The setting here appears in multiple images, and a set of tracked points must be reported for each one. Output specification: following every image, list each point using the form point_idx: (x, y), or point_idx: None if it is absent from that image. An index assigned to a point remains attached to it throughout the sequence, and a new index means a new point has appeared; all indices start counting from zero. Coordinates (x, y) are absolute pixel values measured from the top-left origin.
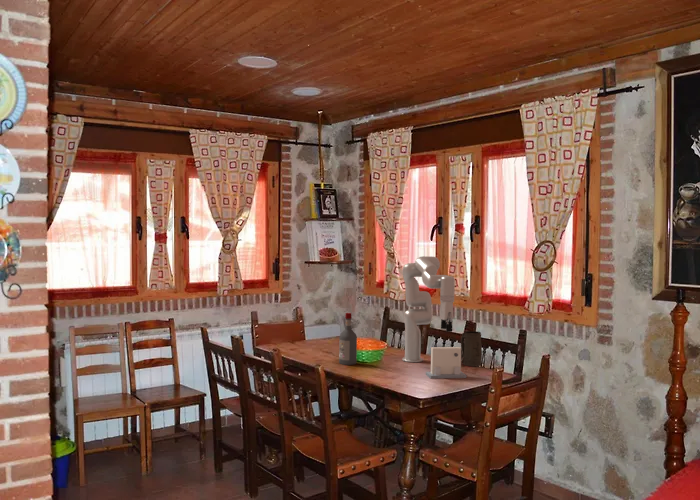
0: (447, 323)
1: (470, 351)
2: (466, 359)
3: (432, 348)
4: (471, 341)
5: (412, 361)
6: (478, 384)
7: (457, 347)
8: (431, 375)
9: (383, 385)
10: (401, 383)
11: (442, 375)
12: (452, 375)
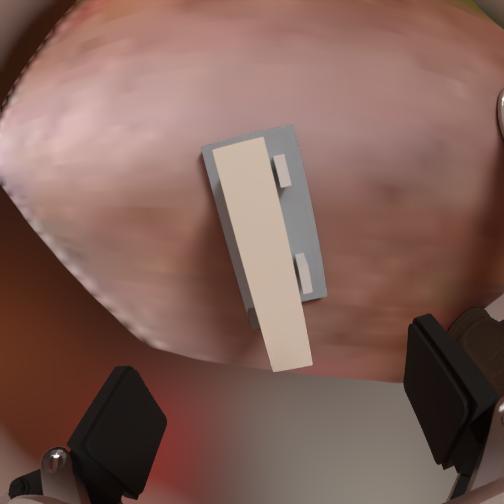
0: (58, 460)
1: (475, 360)
2: (470, 328)
3: (219, 148)
4: (494, 389)
5: (499, 113)
6: (149, 330)
7: (296, 353)
8: (206, 151)
9: (81, 12)
10: (105, 49)
11: (216, 204)
12: (229, 252)
